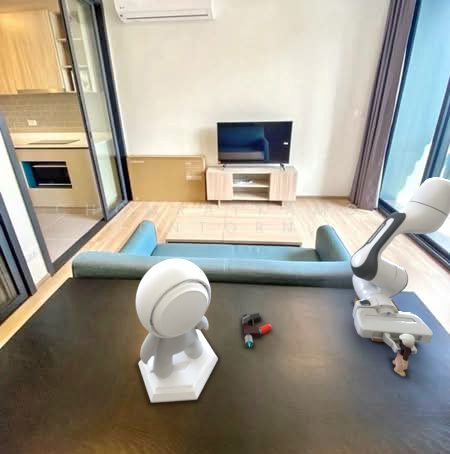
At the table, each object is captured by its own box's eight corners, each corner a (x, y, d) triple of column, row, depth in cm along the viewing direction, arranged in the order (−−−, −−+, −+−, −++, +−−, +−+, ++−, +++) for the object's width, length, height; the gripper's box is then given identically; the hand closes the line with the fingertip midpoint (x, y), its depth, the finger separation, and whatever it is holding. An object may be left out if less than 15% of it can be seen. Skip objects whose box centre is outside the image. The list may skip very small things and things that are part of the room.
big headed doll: (158, 427, 59) (141, 315, 46) (133, 348, 76) (115, 253, 64) (228, 377, 69) (230, 274, 56) (191, 318, 87) (186, 231, 74)
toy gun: (244, 350, 76) (244, 339, 74) (240, 317, 87) (240, 307, 86) (275, 349, 76) (276, 338, 75) (268, 316, 88) (268, 306, 86)
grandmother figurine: (411, 382, 68) (424, 350, 63) (395, 378, 69) (407, 347, 64) (401, 355, 75) (411, 324, 70) (386, 352, 76) (396, 321, 71)
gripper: (412, 320, 81) (443, 363, 68) (347, 315, 83) (365, 356, 70) (418, 306, 79) (450, 347, 66) (350, 300, 81) (369, 340, 68)
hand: (406, 352), depth 68 cm, fingers closed on grandmother figurine, 3 cm apart
